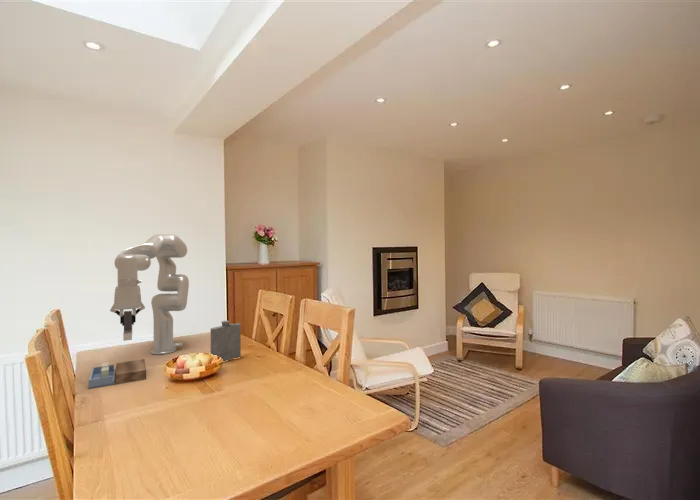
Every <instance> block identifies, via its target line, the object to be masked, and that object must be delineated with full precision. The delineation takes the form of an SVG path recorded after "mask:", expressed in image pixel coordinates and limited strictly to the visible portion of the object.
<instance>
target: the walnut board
mask: <svg viewBox="0 0 700 500" xmlns="http://www.w3.org/2000/svg"><path fill="white" fill-rule="evenodd" d="M146 367H147V366H146V361H145V358H144V359H136V360H135V359H134V360H127V361H121V362H116V367H115V385H121V384H126V383H133V382H138V381H144V380H147V368H146Z"/></svg>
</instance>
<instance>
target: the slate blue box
mask: <svg viewBox="0 0 700 500" xmlns="http://www.w3.org/2000/svg"><path fill="white" fill-rule="evenodd" d="M101 369H102V365H101V366H95V367H92V369H91V372H90V374H89V378H88V389H97V388H103V387H107V386H113V385H115V383H116V368H115V364H109V377H103V378H101Z"/></svg>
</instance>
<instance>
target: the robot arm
mask: <svg viewBox="0 0 700 500" xmlns="http://www.w3.org/2000/svg"><path fill="white" fill-rule="evenodd" d="M187 253H188V246H187V245H186V243H185V242H184V241H183V240H182V238H180V237H179V236H177V235H175V234H162V233H161V234H154V235H152V236H151V237H150V238H148V239H147V240H146V241H145V242H144V243H142V244H138V245H134V246H132V247H128V248H126V249H124V250H122V251H121V252H120V253H118V254H117V256H116V257H115V259H114V266H115V268H116V270H117V286H115V289H114V294H113V295H114V297H113V298H114V299H113V301H114V302H113V304H112V306H111V308H110V310H109V311H110V312H111V313H114V314H116V315H117V316H119V317H120V319H119V322H120V325H122V326H123V327H124V310H131V311H132V326H134V325H135V323H136V317H137V314H138V313H140V312H142V311H143V310H145V309H146V306H145V305H144V304H143V302H142V292H141V287H140V285H139V284H141V283H142V280H141V279H138V278H139V277H138V272H139V271H141V272H142V271H143V272H144V271H146V270H148V269H149V268H150V266H151V264H152V263H151V262H152V261H151V260H152V259H154V258H156V260H157V262H158V265H159V267H158V268H159V270H158V275H157V287H156V288H157V290H158V291H160V292H168V293H157V294H155V295H154V296H152V298H151V303H150V304H151V308H152V309H151V310H152V315H153V318H152V319H153V348H152V349H150V352H149V353H150V354H151V355H158V356H159V355H167V354H171V353H174V352H176V351H177V348H178V347H183V342H174V318H173V315H172V314H171V312H181V311H184V310H185V309H186V307H187V303H188V298H189V297H188V295H189V287H190V283H189V281H190V280H189V278H188V276H187V275H186V274H176V273H177V265H176V263H175V262H174V260H173V259H175V258H176V259H177V258H179V259H180V258H184V257H186V255H187ZM169 292H170V293H169ZM171 292H177V293H171Z"/></svg>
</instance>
